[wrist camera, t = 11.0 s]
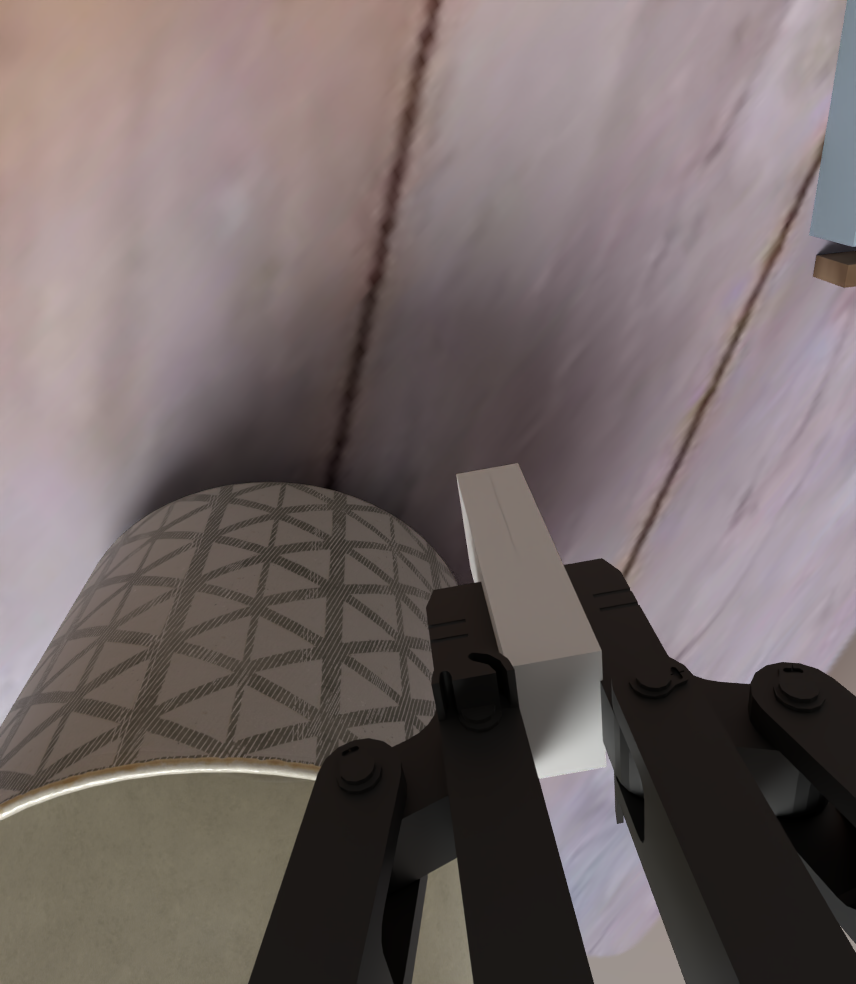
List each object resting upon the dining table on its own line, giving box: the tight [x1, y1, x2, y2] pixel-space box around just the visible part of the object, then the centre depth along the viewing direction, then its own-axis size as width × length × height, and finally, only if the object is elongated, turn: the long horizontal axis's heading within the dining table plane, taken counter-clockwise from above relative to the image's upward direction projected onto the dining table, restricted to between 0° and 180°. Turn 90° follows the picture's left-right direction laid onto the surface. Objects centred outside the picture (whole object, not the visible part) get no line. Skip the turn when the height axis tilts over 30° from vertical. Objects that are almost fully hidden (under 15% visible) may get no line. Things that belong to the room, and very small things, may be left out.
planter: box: [0, 482, 473, 984], centre depth 39 cm, size 25×25×24 cm
